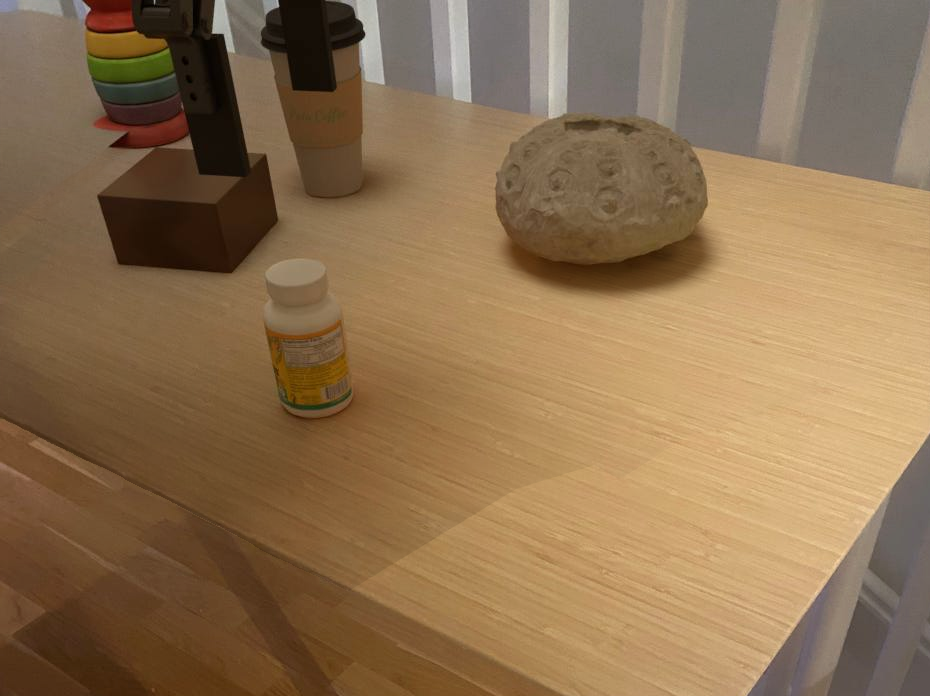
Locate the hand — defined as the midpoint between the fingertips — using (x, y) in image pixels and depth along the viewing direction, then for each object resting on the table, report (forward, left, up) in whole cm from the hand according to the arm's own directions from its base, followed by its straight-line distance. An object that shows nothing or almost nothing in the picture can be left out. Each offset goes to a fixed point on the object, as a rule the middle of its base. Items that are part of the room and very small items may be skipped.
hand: (273, 128), depth 57 cm
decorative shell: (+15, +29, -19) cm, 37 cm away
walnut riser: (-21, +24, -19) cm, 36 cm away
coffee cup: (-13, +38, -19) cm, 44 cm away
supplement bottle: (-1, +1, -19) cm, 19 cm away
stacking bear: (-39, +49, -19) cm, 65 cm away
